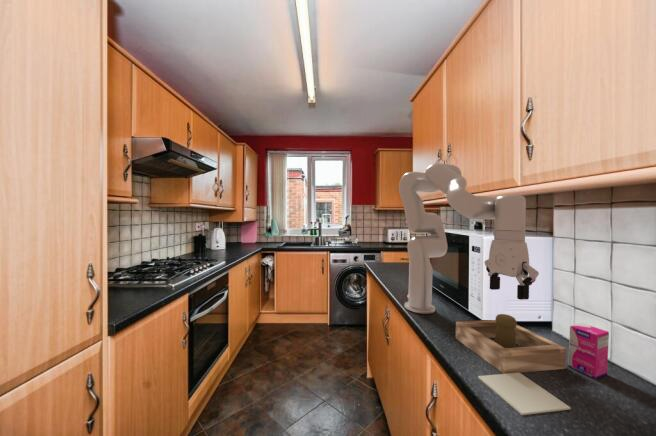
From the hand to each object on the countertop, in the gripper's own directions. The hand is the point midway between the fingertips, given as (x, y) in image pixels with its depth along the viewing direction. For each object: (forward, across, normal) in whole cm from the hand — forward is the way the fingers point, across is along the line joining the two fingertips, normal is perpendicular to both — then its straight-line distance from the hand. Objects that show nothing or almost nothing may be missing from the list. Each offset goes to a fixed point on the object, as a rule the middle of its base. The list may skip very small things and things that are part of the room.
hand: (508, 293), depth 76 cm
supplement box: (+18, +10, +14) cm, 25 cm away
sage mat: (+18, +15, -12) cm, 26 cm away
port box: (+18, -1, 0) cm, 18 cm away
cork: (+18, -1, 0) cm, 18 cm away
